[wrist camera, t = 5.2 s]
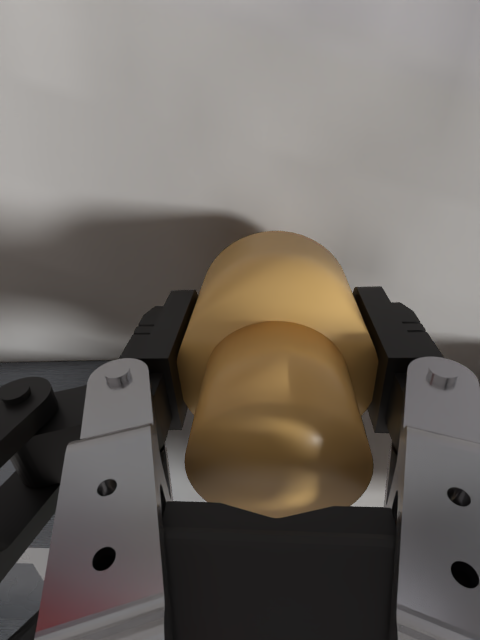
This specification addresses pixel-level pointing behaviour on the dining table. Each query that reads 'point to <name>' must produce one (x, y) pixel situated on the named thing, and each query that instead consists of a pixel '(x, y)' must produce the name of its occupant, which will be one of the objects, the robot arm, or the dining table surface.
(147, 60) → the dining table surface
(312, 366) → the tan stepped cylinder
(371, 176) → the dining table surface
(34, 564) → the block
